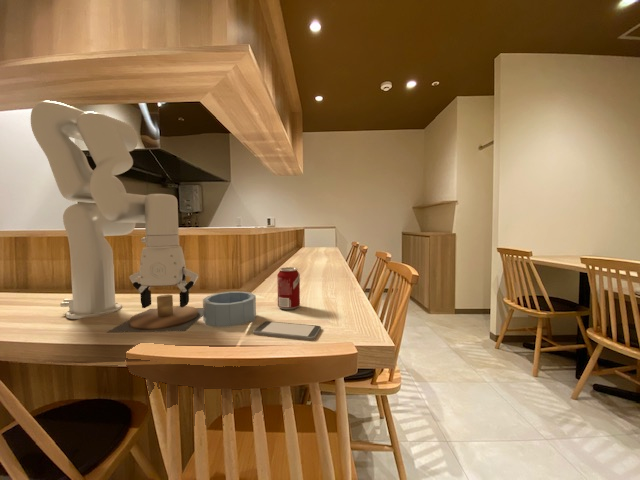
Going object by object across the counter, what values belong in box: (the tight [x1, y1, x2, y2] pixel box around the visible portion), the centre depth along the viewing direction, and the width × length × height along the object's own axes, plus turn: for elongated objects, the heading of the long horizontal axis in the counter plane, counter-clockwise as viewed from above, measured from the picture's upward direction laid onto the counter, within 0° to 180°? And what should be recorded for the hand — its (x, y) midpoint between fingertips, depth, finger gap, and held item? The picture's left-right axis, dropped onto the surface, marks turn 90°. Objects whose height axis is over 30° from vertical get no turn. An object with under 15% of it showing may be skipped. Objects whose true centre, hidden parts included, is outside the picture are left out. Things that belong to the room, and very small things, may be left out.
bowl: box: [202, 291, 257, 328], centre depth 74 cm, size 13×13×6 cm
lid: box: [128, 293, 198, 330], centre depth 74 cm, size 16×16×6 cm
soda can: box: [276, 266, 301, 311], centre depth 85 cm, size 7×7×12 cm
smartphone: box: [252, 320, 322, 342], centre depth 66 cm, size 7×1×15 cm
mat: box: [105, 307, 203, 334], centre depth 74 cm, size 18×18×1 cm
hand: (165, 306), depth 74 cm, fingers open, 9 cm apart
